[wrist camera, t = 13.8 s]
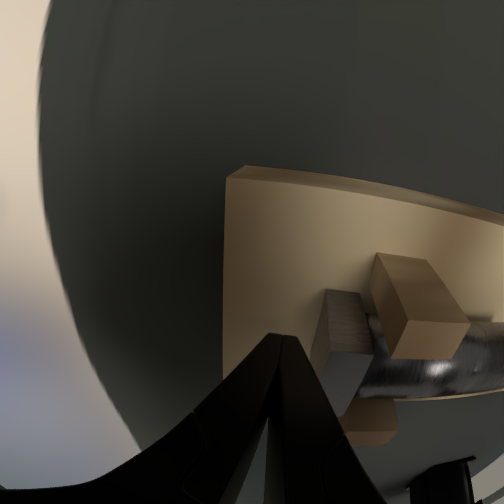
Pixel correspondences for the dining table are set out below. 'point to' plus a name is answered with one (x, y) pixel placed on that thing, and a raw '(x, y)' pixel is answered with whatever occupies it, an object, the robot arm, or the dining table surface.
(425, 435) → the dining table surface
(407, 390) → the lock pin
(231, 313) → the dock
